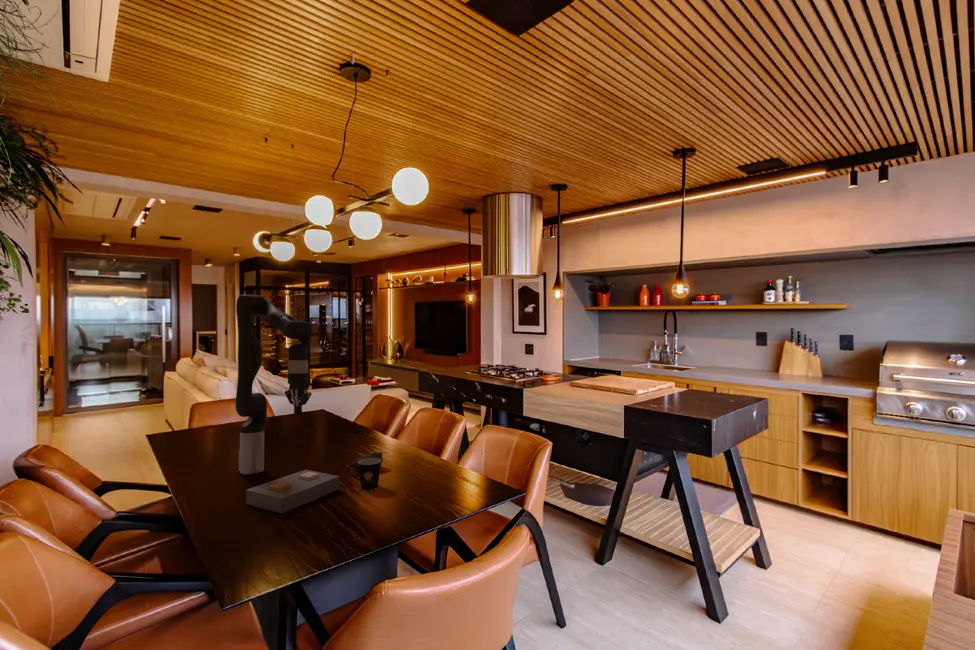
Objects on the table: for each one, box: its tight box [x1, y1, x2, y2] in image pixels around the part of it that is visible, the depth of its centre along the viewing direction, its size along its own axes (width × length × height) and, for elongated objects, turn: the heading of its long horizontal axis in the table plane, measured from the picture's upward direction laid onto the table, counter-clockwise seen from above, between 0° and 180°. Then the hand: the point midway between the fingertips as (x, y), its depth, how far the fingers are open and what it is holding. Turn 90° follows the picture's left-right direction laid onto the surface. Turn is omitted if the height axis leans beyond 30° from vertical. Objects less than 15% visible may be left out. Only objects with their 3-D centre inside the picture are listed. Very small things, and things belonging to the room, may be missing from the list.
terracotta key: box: [269, 482, 291, 492], centre depth 166 cm, size 5×5×4 cm
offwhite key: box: [299, 472, 319, 481], centre depth 178 cm, size 5×5×4 cm
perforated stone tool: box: [351, 451, 383, 474], centre depth 203 cm, size 15×5×7 cm, turn 134°
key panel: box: [245, 469, 340, 514], centre depth 172 cm, size 18×26×5 cm
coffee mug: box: [347, 458, 382, 491], centre depth 182 cm, size 12×9×10 cm
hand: (297, 415), depth 185 cm, fingers closed
